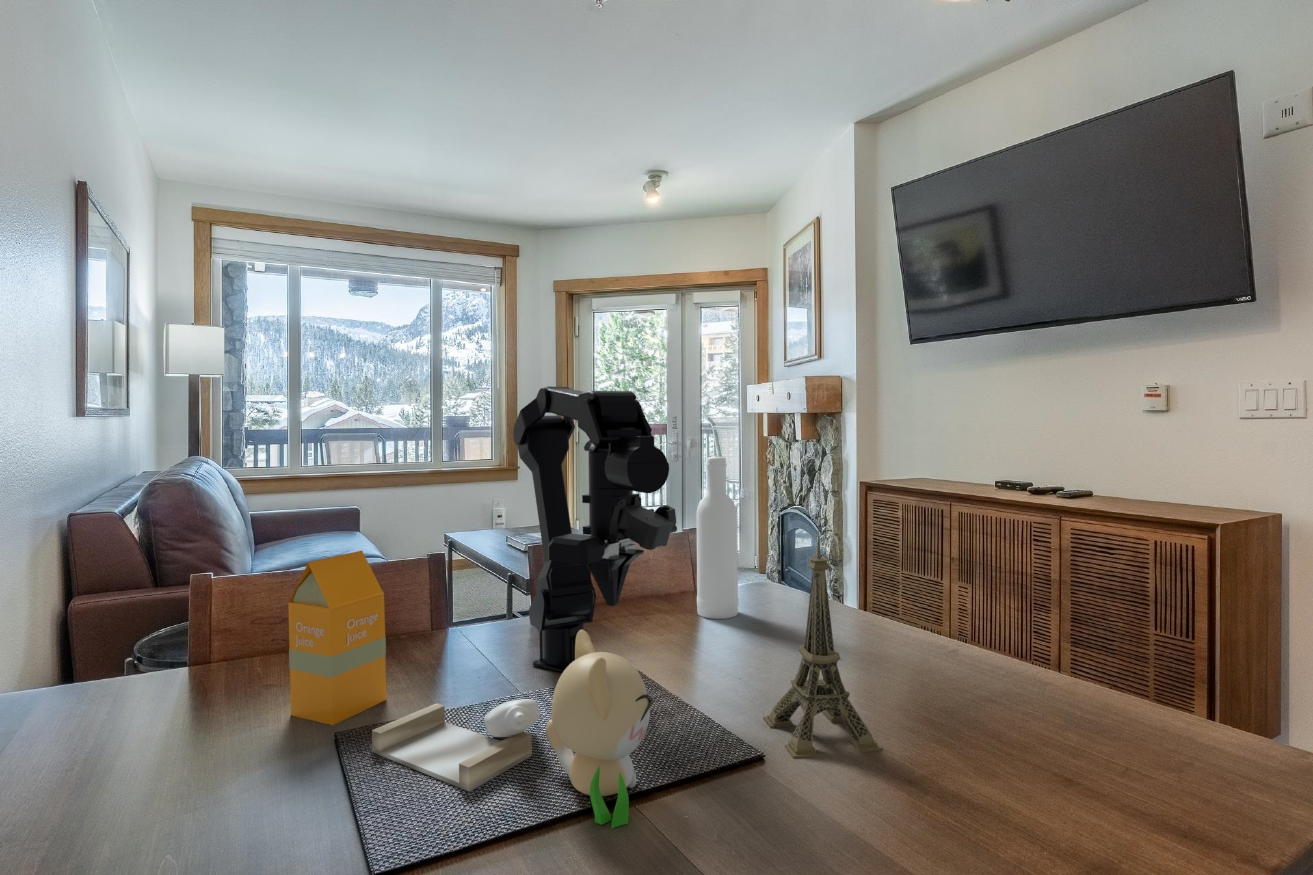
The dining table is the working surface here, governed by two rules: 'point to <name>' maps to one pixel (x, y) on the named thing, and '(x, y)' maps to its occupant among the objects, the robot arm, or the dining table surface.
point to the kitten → (599, 726)
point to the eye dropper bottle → (511, 717)
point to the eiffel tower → (817, 691)
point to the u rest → (448, 748)
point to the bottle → (717, 547)
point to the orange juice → (337, 640)
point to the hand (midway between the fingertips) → (612, 605)
